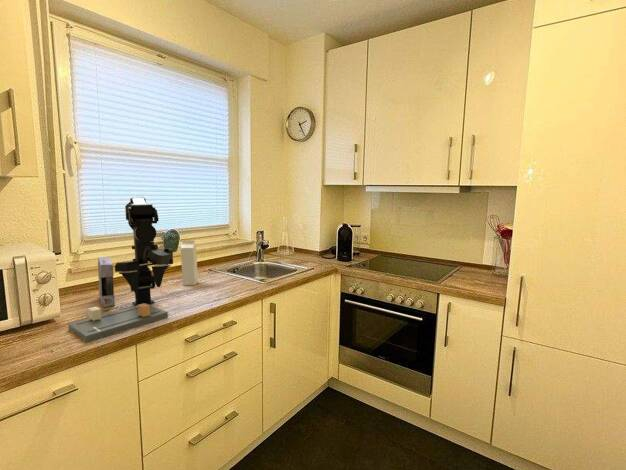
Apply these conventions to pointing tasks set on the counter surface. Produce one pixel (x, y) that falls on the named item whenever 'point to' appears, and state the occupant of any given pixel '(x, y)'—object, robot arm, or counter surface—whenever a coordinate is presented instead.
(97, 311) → the cream slider
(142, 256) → the robot arm
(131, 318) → the panel
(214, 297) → the counter surface
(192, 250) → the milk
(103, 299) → the striped narrow carton
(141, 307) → the copper slider
